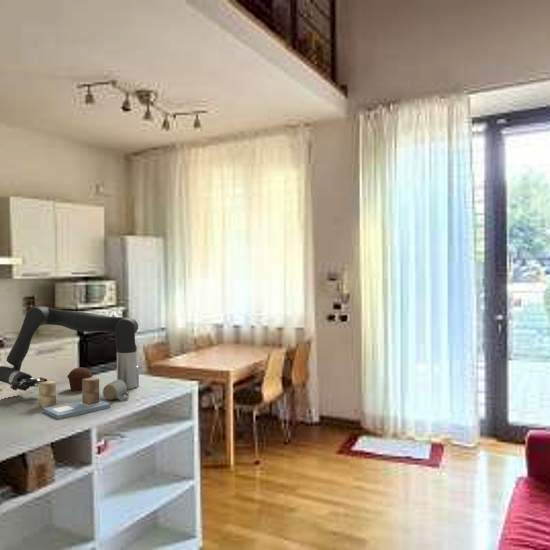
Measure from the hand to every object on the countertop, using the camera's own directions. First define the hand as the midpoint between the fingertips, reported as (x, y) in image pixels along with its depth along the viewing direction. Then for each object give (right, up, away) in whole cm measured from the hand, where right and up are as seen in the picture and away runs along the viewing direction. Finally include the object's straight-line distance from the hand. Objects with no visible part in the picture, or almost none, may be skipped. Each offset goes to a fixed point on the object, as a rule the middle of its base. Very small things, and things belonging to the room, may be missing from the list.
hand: (35, 386), depth 231 cm
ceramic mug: (+34, -7, +4) cm, 35 cm away
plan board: (+23, -7, -13) cm, 27 cm away
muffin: (+12, -6, +21) cm, 25 cm away
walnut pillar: (+27, -5, -8) cm, 28 cm away
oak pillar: (+8, -7, -7) cm, 13 cm away
